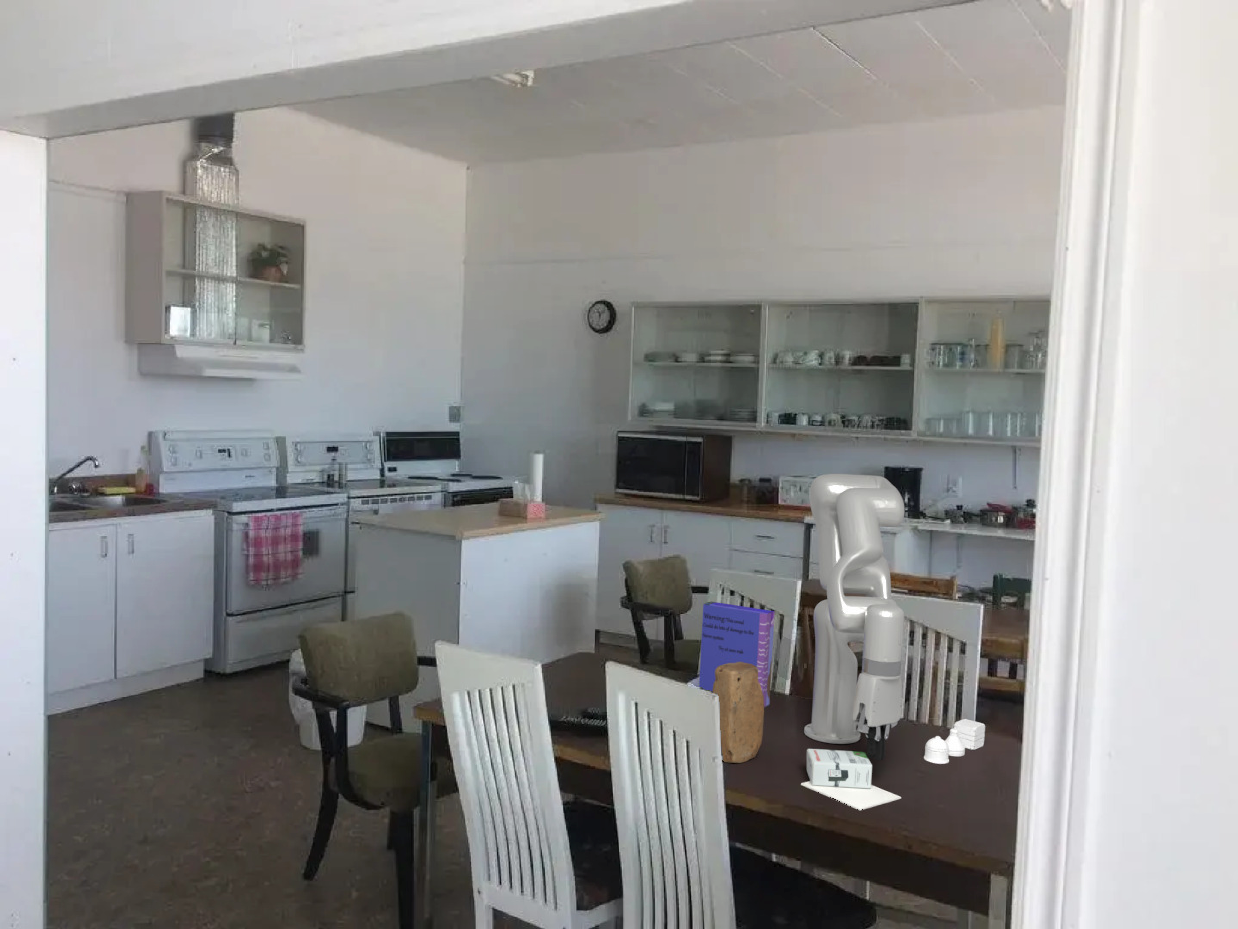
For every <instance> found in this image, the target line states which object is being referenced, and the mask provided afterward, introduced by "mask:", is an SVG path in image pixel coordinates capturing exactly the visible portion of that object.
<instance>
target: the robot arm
mask: <svg viewBox="0 0 1238 929" xmlns="http://www.w3.org/2000/svg"><path fill="white" fill-rule="evenodd" d="M809 505H810V509H811V515H812V517H813V520H814V523H815V526H816V530H817V536H818V537H817V538H818V539H817V540H818V542H817V543H818V571H819V572H818V574H819V582H820V585H821V588H822V589H823V590H825V591H826V596H827V597H826V598H827V599H824V600H821V601H820V602H819V603H817V604H816V606H814V607H815V608H814V610H813V625H814V636H815V658H814V680H813V691H812V710H811V711H812V712H811V723H809V724H807V725H805V726H804V730H803V733H804V734H805V736H807V737H808V738H810V739H812V740H814V741H818V742H821V743H827V744H835V745H836V744H837V745H846V744H854V743H857V742H858V741H859V740H860V739H861V733H863V734H865V737H866V738H867V746H866V747H867V750H866V756H867V757H868V758H871V759H873V760H876V761H881V760H885V757H886V745H887V744H886V742H887V740H888V739H889V735H890V734H889V733H890V731H891V729H893V728H894V727H895V726H897V725H898V721H899V720H901V718H902V712H903V711H902V710H903V683H902V682H903V680H902V656H903V655H902V654H903V643H904V630H905V629H904V628H905V627H904V626H905V612H904V610H903V609H902V608H901V607H899V605H898V604H897V602H896V601H895V600H894V599H892V584H891V582H892V581H891V572H890V571H891V569H890V566H889V563H888V560H887V559H886V558H885V557H884V545H883V539H882V538H883V537H882V532H881V528H883V527H884V528H896V527H899V526H900V525H901V524H902V523H903V521H904V518H905V504H904V500H903V497H902V494H901V493H900V492H899V490H898V488H896V486H894V485H893V484H892V483H891V482H890V481H889V480H888V479H887V478H885V477H883V476H880V475H869V474H868V475H867V474H849V473H848V474H847V473H828V474H822V475H819V476H817V477H815V478H814V479H813V481H811V484H810V489H809ZM845 594H855V595H856V594H860V595H862V594H863V595H865V596H858V595H857V596H854V595H852V596H851V595H849V596H848V595H845ZM851 642H852V643H854V642H859V643H860V642H861V643H863V644H862V645H863V646H862V661H861V662H862V663H861V673H859V675H858V664H859V663H858V659H857V657H856V656H857V655H855V653H854V651H852V649H851V648H850V646H849V645H848V643H851Z"/></svg>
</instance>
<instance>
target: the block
mask: <svg viewBox="0 0 1238 929" xmlns="http://www.w3.org/2000/svg"><path fill="white" fill-rule="evenodd" d="M712 693H717V694H718V696H719V702H720V730H721V746H722V754H723V761H724V763H730V764H731V763H732V764H733V763H735V764H741V763H745V762H748V761H749V760H752V759H753V758H756V756H757V754H758V753H759V752H758V751H759V749H760V747H761V746H762V742H763V735H764V734H763V733H764V718H765V717H764V716H765V708H764V696H763V693H762V690H761V686H760V683H759V682H758V668H757V667H756V666H754V665H753V664H749V663H744V662H736V663H727V664H723V665H720V666H718V667H717V668H716V670H715V681H714V684H713V692H712ZM723 761H722V762H723Z"/></svg>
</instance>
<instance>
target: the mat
mask: <svg viewBox="0 0 1238 929" xmlns="http://www.w3.org/2000/svg"><path fill="white" fill-rule="evenodd" d="M800 786H803V787H805V788H807V789H809V790H811V791H815V792H817V793H818V792H819V794H821V795H823V796H826V797H828V798H830V797H831V798H830V799H832V798H834V799H836V800H835V801H837V800H838V801H837V802H839V801H840V802H839V803H842V804H844V803H845V804H844V805H846V804H847V805H846V806H848V807H850V806H851V808H853V809H856V810H857V809H858V811H863V810H866V809H867V810H868V809H871V808H873V807H877V806H880V805H883V804H888V803H891V802H893V801H894V802H895V801H897V800H900V799H902V797H901V796H899V795H898V794H894V793H893V792H890V791H887V790H884V789H882V788H879V787H877V786H875V785H873V784H871V789H868V788H851V787H835V786H818V785H812V784H811V781H810V780H809V781H804V782H801V783H800ZM834 799H833V800H834ZM862 809H863V810H862Z"/></svg>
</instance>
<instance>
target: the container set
mask: <svg viewBox="0 0 1238 929" xmlns="http://www.w3.org/2000/svg"><path fill="white" fill-rule="evenodd" d="M954 722H955V721H954ZM985 732H986V725H985V724H984V723H982V722H978V721H975V720H971V719H967V718H963V719H960V720H958V721H956V722H955V723H954V724H953V728H951V729H949V735H948V737H946V738H945V740H944V739H942V737H941V736H939V735H936V736H935V737H932V738H930V739H928V741H927V742H926V743H925V746H924V749H925V750H924V756H923V759H924V760H925V761H927V762H928V763H929V762H930V763H933V764H936V765H937V764H939V765H942V764H943V765H944V764H949V762H950V759H949V756H951V757H963V756H965V752H966V749H968V750H973V751H974V750H977V749H979V748H982V747H984V744H985V737H986V736H985V734H986V733H985Z"/></svg>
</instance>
